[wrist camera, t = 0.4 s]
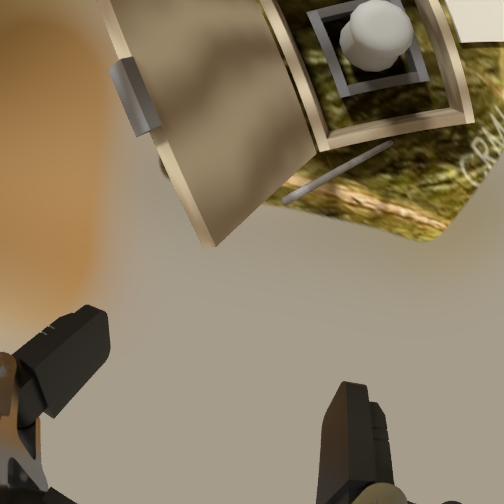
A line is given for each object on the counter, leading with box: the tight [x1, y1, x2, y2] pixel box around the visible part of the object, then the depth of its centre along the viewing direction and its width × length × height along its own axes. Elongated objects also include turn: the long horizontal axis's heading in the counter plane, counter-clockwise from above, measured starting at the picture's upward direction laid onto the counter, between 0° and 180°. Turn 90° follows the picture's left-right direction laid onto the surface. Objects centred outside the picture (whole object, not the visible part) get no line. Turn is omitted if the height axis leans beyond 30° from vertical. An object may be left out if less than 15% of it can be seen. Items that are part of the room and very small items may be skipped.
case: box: [260, 0, 475, 205], centre depth 19 cm, size 19×18×14 cm
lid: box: [97, 0, 317, 247], centre depth 18 cm, size 18×17×1 cm
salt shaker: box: [339, 0, 414, 72], centre depth 19 cm, size 6×6×13 cm
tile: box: [443, 0, 504, 43], centre depth 15 cm, size 10×10×1 cm
